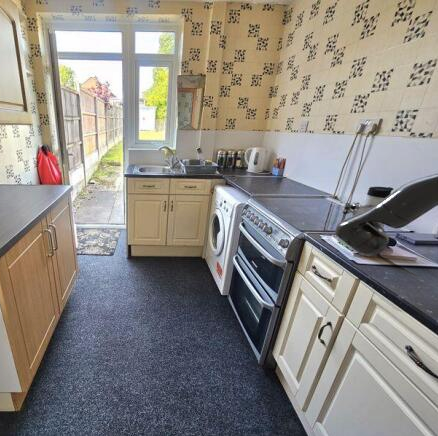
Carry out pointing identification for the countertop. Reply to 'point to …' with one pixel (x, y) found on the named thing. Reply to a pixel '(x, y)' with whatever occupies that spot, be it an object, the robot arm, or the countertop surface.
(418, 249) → the countertop surface
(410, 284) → the countertop surface
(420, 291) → the countertop surface
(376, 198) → the travel mug
